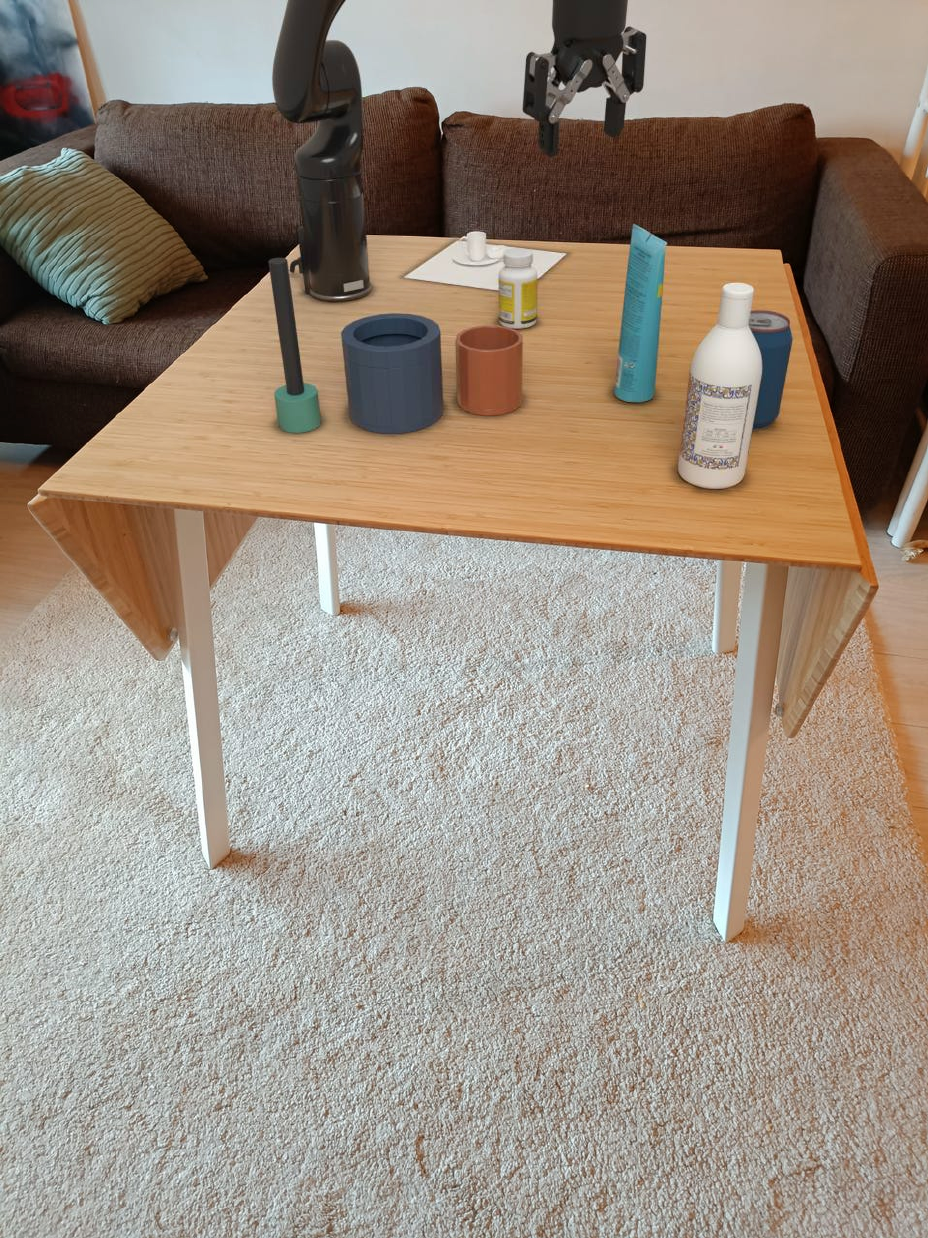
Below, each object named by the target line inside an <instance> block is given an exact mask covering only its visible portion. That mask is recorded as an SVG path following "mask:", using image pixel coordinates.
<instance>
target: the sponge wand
mask: <svg viewBox="0 0 928 1238" xmlns="http://www.w3.org/2000/svg"><path fill="white" fill-rule="evenodd" d="M268 269H269V276H270V282H271V289H272V297H273V305H274V311H275V317H276V318H275V319H276V324H277V332H278V338H279V345H280V354H281V359H282V366H283V373H284V382H285V384H284V385H281V386H279V387H278V388H276V389H275V390H274V393H273V396H274V403H275V408H276V416H277V423H278V427H279V429H280V430H282V431H284V432H286V433H290V434H291V433H292V434H302V433H303V434H304V433H307V432H311V431H314V430H316V429H318V427H320V426H321V424H322V415H321V407H320V399H319V390H318V388H317V386H316V385H313V384H311V383H308V382H304V376H303V369H302V361H301V354H300V345H299V337H298V331H297V324H296V323H297V322H296V315H295V309H294V300H293V294H292V284H291V277H290V268H289V262H288V259H287V258H285V257H274V258H270V259H269V260H268Z"/></svg>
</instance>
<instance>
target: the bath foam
mask: <svg viewBox="0 0 928 1238" xmlns="http://www.w3.org/2000/svg"><path fill="white" fill-rule="evenodd" d="M754 293H755V289H754V286H752V285H750V284H749V283H745V282H730V283H725V284H724V285H723V286H722V288H721V294H720V301H719V308H718V316H717V323H716V324H715V325H714V326H713V328H711V330H709V332H708V333H707V335H706V336H705V337H703V340H702V341H701V342H700V343H699V345H698V347H697V348H696V350H695V352H694V354H693V357H692V360H691V364H690V368H689V373H688V381H687V390H686V398H685V406H684V413H683V423H682V430H681V437H680V445H679V446H680V447H679V454H678V463H677V471H678V474H679V476H680V477H681V478H682V479H683V480H684V481H685V482H686V483H688V484H691V485H692V486H695V487H698V488H701V489H707V490H722V489H727V488H731V487H734V486H736V485H738V484H739V483H740V482H741V481H742V480H743V478H744V476H745V473H746V468H747V463H748V457H749V452H750V446H751V441H752V435H753V431H752V430H753V424H754V418H755V413H756V407H757V401H758V395H759V390H760V384H761V378H762V358H761V353H760V349H759V347H758V344H757V342H756V340H755V338H754V336H753V334H752V332H751V330H750V328H749V326H748V323H749V319H750V313H751V311H752V307H753V299H754Z"/></svg>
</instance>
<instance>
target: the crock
mask: <svg viewBox="0 0 928 1238" xmlns="http://www.w3.org/2000/svg"><path fill="white" fill-rule="evenodd" d="M454 340H455V341H454V343H455V375H456V377H455V378H456V398H457V405H458V406H459V407H460V409H461V410H463V411H465V412H467V413H469V414H473V415H477V416H488V417H489V416H500V415H505V414H509V413H511V412H513V411H515V410H517V409H518V408H520V406H521V405H522V402H523V365H524V364H523V363H524V361H523V357H524V355H523V353H524V349H523V348H524V336H523V335H522V333H521V332H520V331H519V330H518V329H513V328H509V327H504V326H502V325H493V324H491V325H490V324H487V325H486V324H484V325H477V326H472V327H469V328H466V329H462V331H460V332H459V333H457V334H456V336H455V339H454Z"/></svg>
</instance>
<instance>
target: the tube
mask: <svg viewBox="0 0 928 1238" xmlns="http://www.w3.org/2000/svg"><path fill="white" fill-rule="evenodd" d="M667 245H668V242H667V241H665V240H663V239H662V238H659V236H656V235H654V234H652V233H650V232H649V231H647V230H646V229H644V228H642V227H640V226H638V225H636V224H635V223H633V224H632V229H631V237H630V244H629V252H628V260H627V268H626V277H625V287H624V293H623V294H624V296H623V305H622V312H621V313H622V314H621V322H620V323H621V324H620V333H619V343H618V350H617V351H618V352H617V361H616V369H615V370H616V371H615V381H614V391H613V394H614V396H615V397H616V398H617V399H619V400H621V401H623V402H628V403H644V402H648V401H650V400H652V399H653V398H654V397H655V392H656V381H657V367H658V355H659V343H660V330H661V318H662V306H663V293H664V283H665V282H664V280H665V264H666V263H665V262H666V247H667Z"/></svg>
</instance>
